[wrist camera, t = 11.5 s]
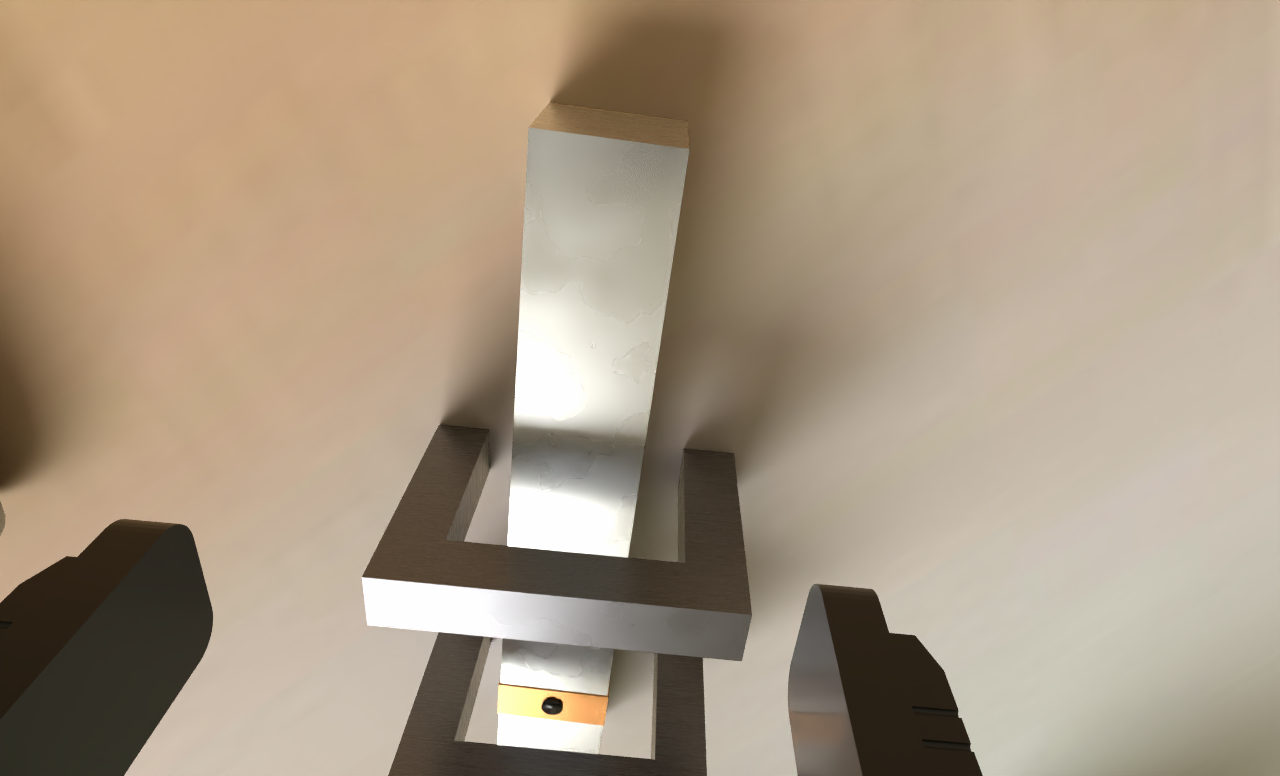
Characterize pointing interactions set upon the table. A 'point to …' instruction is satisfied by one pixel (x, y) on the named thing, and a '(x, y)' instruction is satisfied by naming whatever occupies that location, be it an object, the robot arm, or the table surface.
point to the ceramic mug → (2, 518)
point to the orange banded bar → (585, 378)
